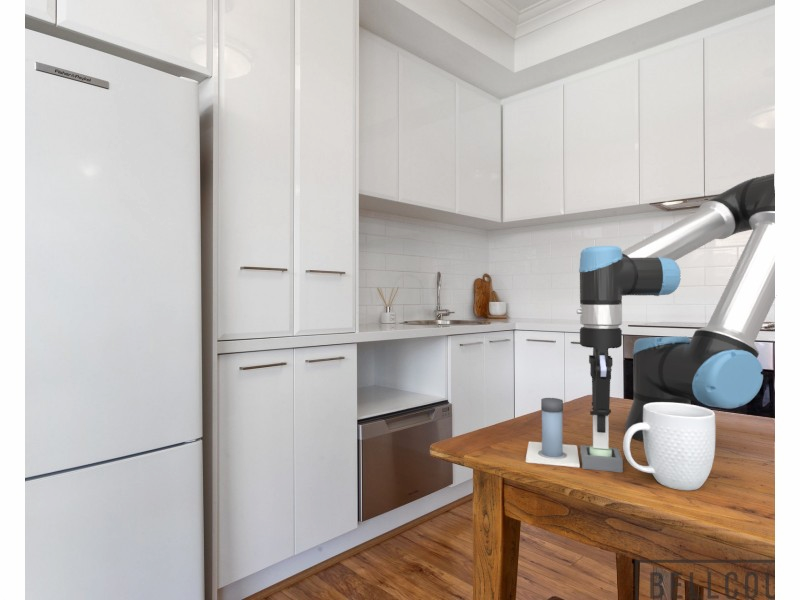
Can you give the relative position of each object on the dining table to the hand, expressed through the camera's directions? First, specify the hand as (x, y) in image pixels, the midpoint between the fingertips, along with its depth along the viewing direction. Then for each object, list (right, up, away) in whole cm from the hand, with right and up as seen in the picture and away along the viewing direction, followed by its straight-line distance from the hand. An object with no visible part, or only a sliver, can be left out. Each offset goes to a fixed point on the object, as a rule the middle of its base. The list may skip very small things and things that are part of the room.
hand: (600, 447), depth 95 cm
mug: (+9, -4, -9) cm, 13 cm away
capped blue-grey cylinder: (-8, -3, +4) cm, 9 cm away
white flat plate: (-8, -3, +6) cm, 10 cm away
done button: (0, -3, 0) cm, 3 cm away
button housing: (0, -3, 0) cm, 3 cm away
